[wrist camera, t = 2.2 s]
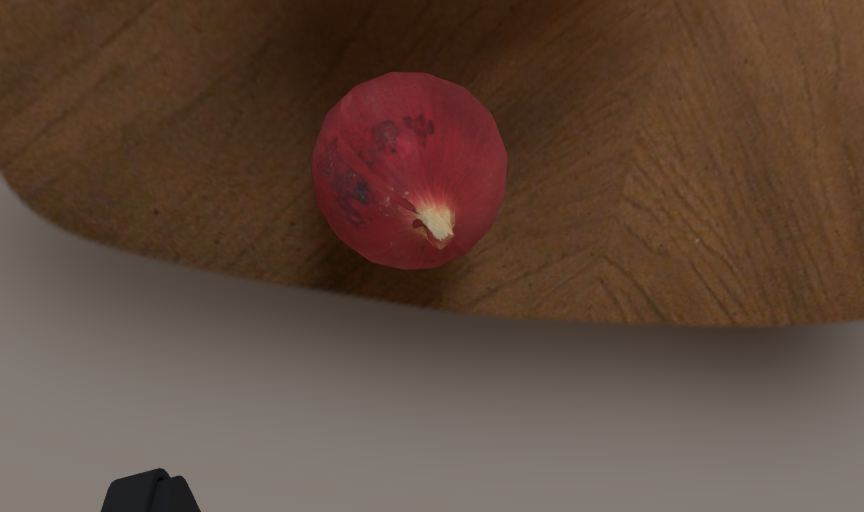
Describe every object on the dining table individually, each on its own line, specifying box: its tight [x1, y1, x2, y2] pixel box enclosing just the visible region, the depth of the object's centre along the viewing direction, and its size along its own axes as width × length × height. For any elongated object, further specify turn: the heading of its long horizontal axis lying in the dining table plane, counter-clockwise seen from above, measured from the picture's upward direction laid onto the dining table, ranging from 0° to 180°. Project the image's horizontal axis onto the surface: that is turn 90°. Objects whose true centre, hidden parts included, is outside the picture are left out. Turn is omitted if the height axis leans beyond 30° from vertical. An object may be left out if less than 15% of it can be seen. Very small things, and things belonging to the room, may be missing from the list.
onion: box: [310, 72, 507, 270], centre depth 22 cm, size 6×6×8 cm
